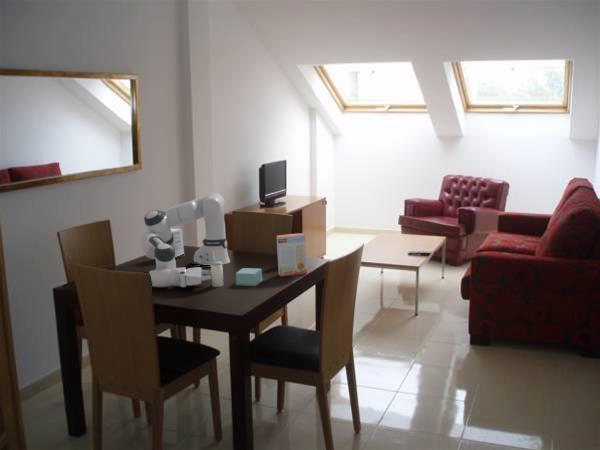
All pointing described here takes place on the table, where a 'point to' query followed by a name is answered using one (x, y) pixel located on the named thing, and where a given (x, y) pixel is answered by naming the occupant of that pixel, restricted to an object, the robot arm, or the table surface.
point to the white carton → (178, 242)
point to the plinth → (249, 277)
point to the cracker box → (291, 254)
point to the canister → (217, 273)
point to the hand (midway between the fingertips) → (211, 274)
